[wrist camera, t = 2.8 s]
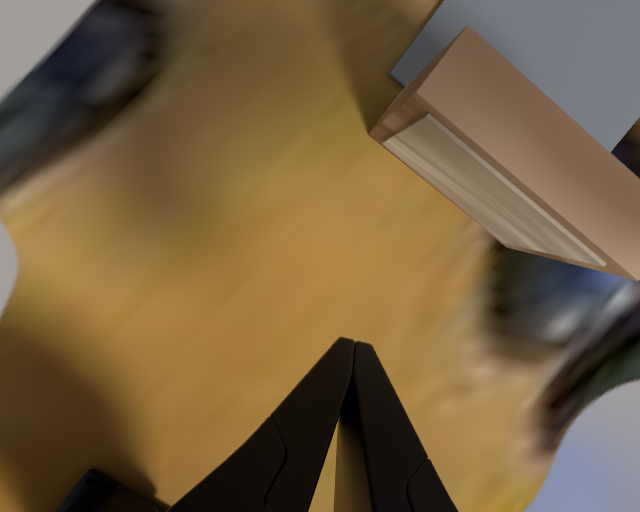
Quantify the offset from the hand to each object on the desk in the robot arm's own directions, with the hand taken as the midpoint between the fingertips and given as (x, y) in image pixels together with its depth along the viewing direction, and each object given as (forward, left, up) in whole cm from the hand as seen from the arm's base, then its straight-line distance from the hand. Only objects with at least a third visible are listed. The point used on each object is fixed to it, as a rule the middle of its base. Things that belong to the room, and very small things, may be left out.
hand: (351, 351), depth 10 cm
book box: (+8, -3, -12) cm, 15 cm away
